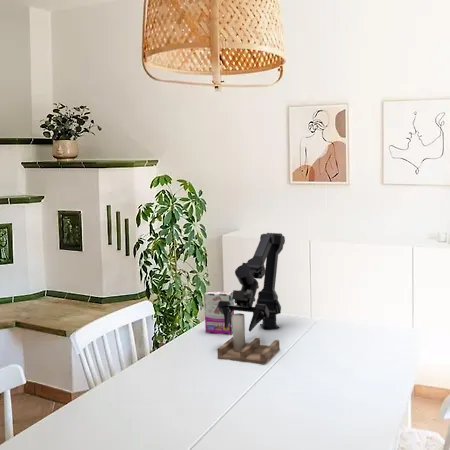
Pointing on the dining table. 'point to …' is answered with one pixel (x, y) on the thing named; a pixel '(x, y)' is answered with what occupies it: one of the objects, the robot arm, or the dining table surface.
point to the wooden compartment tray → (249, 351)
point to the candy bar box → (217, 312)
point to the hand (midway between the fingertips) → (237, 329)
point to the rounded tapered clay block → (238, 332)
